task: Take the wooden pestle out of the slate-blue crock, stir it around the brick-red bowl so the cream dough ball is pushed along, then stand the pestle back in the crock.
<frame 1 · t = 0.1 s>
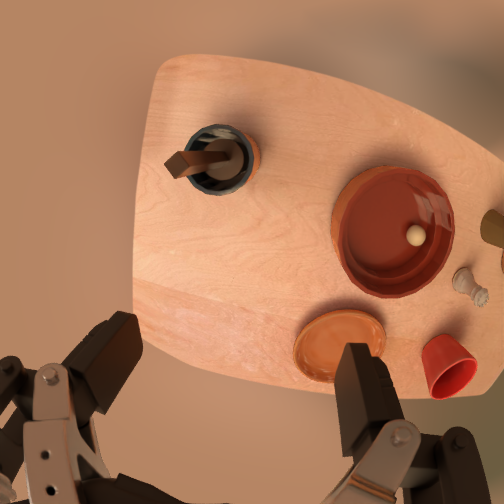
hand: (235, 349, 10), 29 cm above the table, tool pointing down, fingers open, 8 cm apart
dough ball: (416, 235, 33), point 2 cm above the table, touching bowl
flower pot: (436, 348, 42), on the table
bowl: (386, 225, 36), on the table
brown peg figure: (490, 226, 33), on the table
wooden pestle: (230, 158, 35), resting on crock
rook chess piece: (460, 278, 37), on the table
saucer: (338, 340, 44), on the table
crock: (231, 158, 35), on the table
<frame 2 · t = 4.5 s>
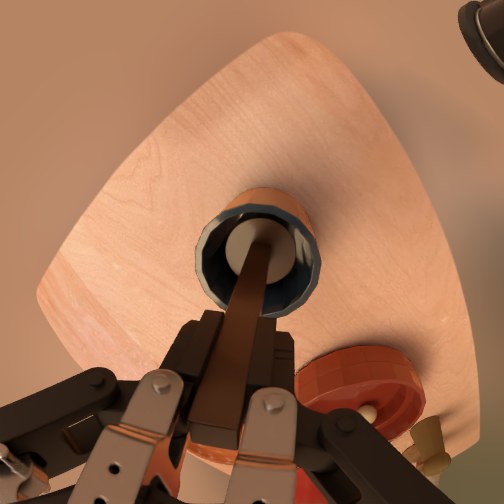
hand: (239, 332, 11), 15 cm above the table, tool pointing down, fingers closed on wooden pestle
dough ball: (366, 415, 29), point 2 cm above the table, touching bowl
candle holder: (420, 447, 36), on the table
flower pot: (304, 472, 41), on the table
bowl: (350, 391, 30), on the table
brown peg figure: (424, 425, 33), on the table
wooden pestle: (265, 232, 24), point 1 cm above the table, touching crock, gripper
saucer: (228, 433, 37), on the table
crock: (265, 231, 24), on the table
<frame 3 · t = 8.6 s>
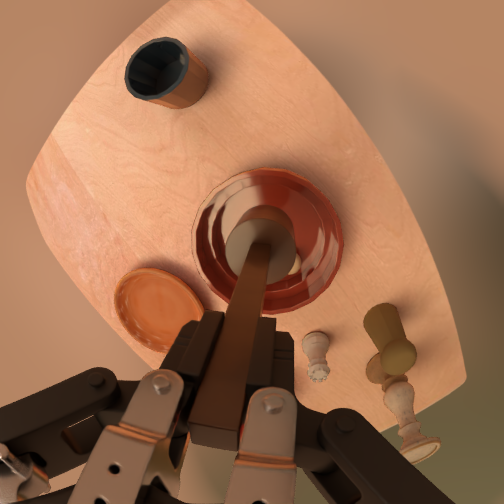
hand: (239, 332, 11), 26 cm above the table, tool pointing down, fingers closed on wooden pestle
dough ball: (289, 262, 35), point 2 cm above the table, touching bowl
candle holder: (387, 363, 42), on the table
bowl: (269, 233, 36), on the table
brown peg figure: (380, 318, 39), on the table
wooden pestle: (265, 232, 24), point 12 cm above the table, touching gripper
rook chess piece: (315, 340, 41), on the table
saucer: (163, 306, 42), on the table
crock: (180, 82, 30), on the table
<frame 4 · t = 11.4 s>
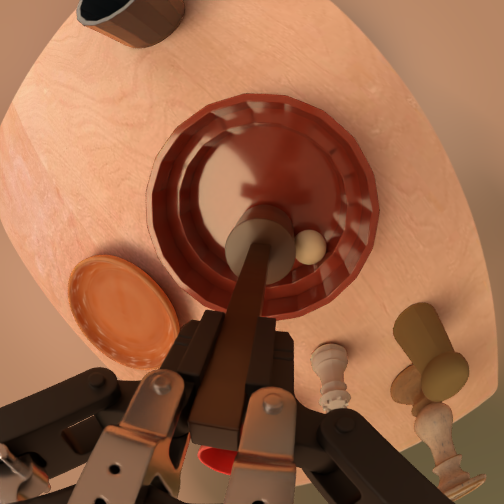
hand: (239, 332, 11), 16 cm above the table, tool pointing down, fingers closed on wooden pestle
dough ball: (309, 247, 23), point 2 cm above the table, tilted 45°, touching bowl, wooden pestle
candle holder: (416, 379, 30), on the table
flower pot: (248, 409, 35), on the table
bowl: (264, 202, 24), on the table
brown peg figure: (414, 323, 27), on the table
wooden pestle: (264, 232, 24), point 2 cm above the table, touching dough ball, gripper
rook chess piece: (328, 354, 30), on the table
saucer: (128, 307, 31), on the table
crock: (150, 18, 18), on the table
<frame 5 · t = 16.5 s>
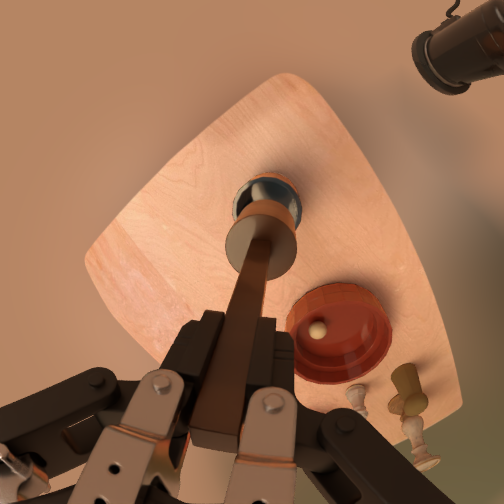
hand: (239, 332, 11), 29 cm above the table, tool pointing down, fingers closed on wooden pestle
dough ball: (317, 330, 42), point 2 cm above the table, tilted 106°, touching bowl
candle holder: (404, 399, 50), on the table
bowl: (334, 326, 44), on the table
brown peg figure: (403, 372, 47), on the table
wooden pestle: (265, 227, 23), point 15 cm above the table, touching gripper
rook chess piece: (355, 389, 49), on the table
crock: (270, 199, 38), on the table
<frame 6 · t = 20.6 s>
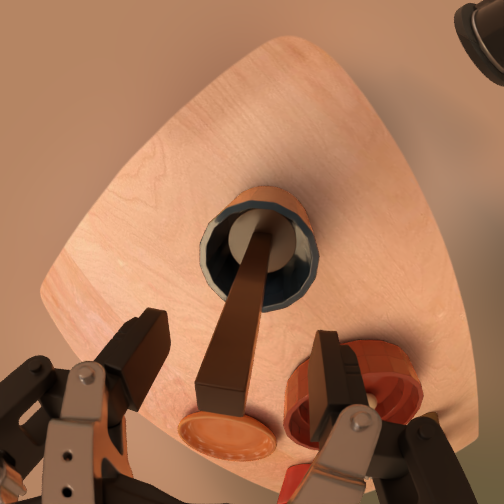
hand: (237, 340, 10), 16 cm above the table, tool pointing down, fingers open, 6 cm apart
dough ball: (366, 403, 29), point 2 cm above the table, tilted 44°, touching bowl
flower pot: (304, 468, 42), on the table
bowl: (349, 385, 31), on the table
wooden pestle: (266, 224, 24), resting on crock
saucer: (229, 428, 38), on the table
crock: (266, 227, 25), on the table
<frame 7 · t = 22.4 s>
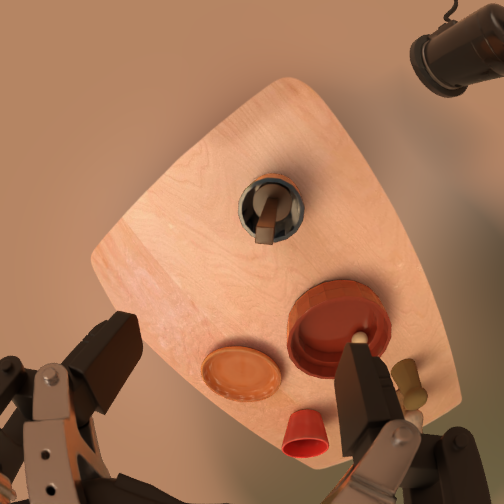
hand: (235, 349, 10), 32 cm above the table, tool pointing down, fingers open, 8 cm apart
dough ball: (359, 339, 44), point 2 cm above the table, tilted 80°, touching bowl
candle holder: (404, 395, 51), on the table
flower pot: (305, 416, 56), on the table
bowl: (335, 321, 45), on the table
brown peg figure: (403, 368, 48), on the table
wooden pestle: (273, 197, 39), resting on crock
saucer: (242, 368, 52), on the table
crock: (273, 199, 39), on the table
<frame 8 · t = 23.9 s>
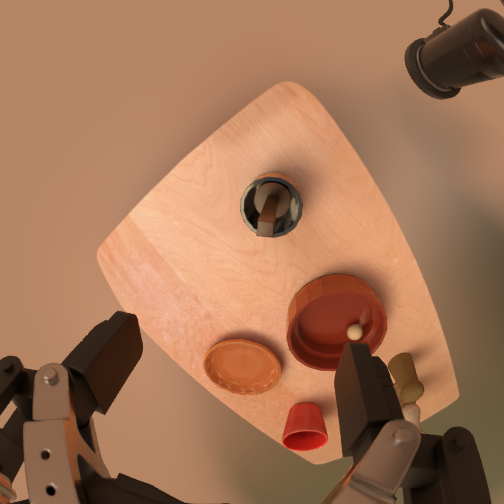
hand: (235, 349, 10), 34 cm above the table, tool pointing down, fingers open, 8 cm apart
dough ball: (354, 332, 46), point 2 cm above the table, tilted 67°, touching bowl
candle holder: (401, 389, 53), on the table
flower pot: (304, 410, 58), on the table
bowl: (333, 315, 47), on the table
brown peg figure: (399, 362, 50), on the table
wooden pestle: (273, 195, 41), resting on crock
saucer: (243, 361, 54), on the table
crock: (273, 197, 41), on the table
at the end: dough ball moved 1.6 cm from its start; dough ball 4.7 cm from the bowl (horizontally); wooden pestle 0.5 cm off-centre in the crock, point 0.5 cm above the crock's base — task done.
